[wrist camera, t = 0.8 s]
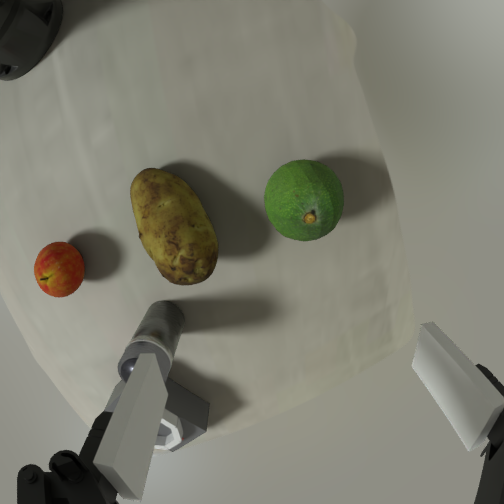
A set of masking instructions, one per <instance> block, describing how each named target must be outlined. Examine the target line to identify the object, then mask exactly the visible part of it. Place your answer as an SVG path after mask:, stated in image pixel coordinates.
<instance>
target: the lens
mask: <svg viewBox="0 0 504 504" xmlns="http://www.w3.org/2000/svg"><path fill="white" fill-rule="evenodd" d="M184 323H185V318H184V314H183V312H182V311H181V309H180V308H179V307H178V306H177V305H175V304H173V303H171V302H168V301H158V302H155V303H153V304H152V305H151V306H150V307H149V309H148V311H147V313H146V314H145V316H144V318H143V320H142V321H141V323H140V325H139V327H138V328H137V330H136V332H135V334H134V336H133V337H132V339H131V341H130V342H129V344H128V346H127V347H126V349H125V352H124V354H123V356H122V358H121V359H120V361H119V363H118V372H119V375H120V377H121V379H122V380H123V381H124V382H125V383H127V381H128V379H129V377H130V374H131V372H132V370H133V368H134V366H135V364H136V361H137V359H138V357H139V355H140V353H155V355H156V359H157V362H158V365H159V368H160V372H161V375H162V378H163V381H164V384H166V380H167V377H168V374H169V371H170V369H171V366H172V362H173V358H174V354H175V351H176V348H177V345H178V342H179V339H180V336H181V332H182V329H183V326H184Z"/></svg>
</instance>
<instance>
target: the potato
mask: <svg viewBox="0 0 504 504" xmlns="http://www.w3.org/2000/svg"><path fill="white" fill-rule="evenodd" d="M130 195H131V202H132V207H133V212H134V215H135V219H136V223H137V227H138V231H139V238H140V239H141V242H142V244H143V246H144V248H145V250H146V251H147V253H148V254H149V256H150V257H151V258H152V259H153V260H154V261H155V264H156V266H157V268H158V270H159V271H160V273H161V274H162V276H163V277H165V278H166V279H167V280H169V282H171V283H174V284H178V285H193V284H197V283H200V282H203V281H205V280H206V279H207V278H209V277H210V275H211V274H212V273H213V271H214V269H215V266H216V263H217V258H218V241H217V238H216V234H215V231H214V229H213V226H212V224H211V222H210V219H209V217H208V216H207V214H206V212H205V211H204V209H203V207H202V204H201V202H200V200H199V198H198V197H197V195H196V194H195V193H194V191H193V190H192V189H191V188H190V186H189V185H188V184H187V183H186V182H184V181H183V180H182V179H181V178H179V177H178V176H176V175H174V174H171V173H168V172H166V171H163V170H160V169H156V168H147V169H144V170H142V171H141V172H140V173H139V174H138V175H137V176H136V177H135V178H134V180H133V182H132V184H131V189H130Z"/></svg>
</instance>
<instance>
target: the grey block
mask: <svg viewBox="0 0 504 504" xmlns="http://www.w3.org/2000/svg"><path fill="white" fill-rule="evenodd" d="M125 385H126V383H125V382H124V381H123V380H121V381H120V382H119V383H118V384H117V385H116V386H115V388H114V390H113V393H112V395H111V397H110V399H109V401H108V403H107V405H106V407H105V410H104V411H107V412H114V410H115V408H116V406H117V403H118V401H119V399H120V396H121V394H122V392H123V390H124V388H125ZM165 387H166V390H167V393H168V397H167V401H166V405H165V408H164V412H163V416H162V419H161V423H160V427H159V431H158V434H157V438H156V442H155V446H154V448H155V449H165V450H167V449H168V450H170V451H172V452H174V451H175V450H177V449H179V448H180V447H182V446H184V445H185V444H187V443H189V442H190V441H192V440H194V439H195V438H197V437H198V436H200V435H202V434H203V433H205V432H206V431H207V422H208V413H209V403H207V402H205V401H204V400H202V399H200V398H199V397H197V396H196V395H194V394H193V393H191V392H189V391H188V390H186V389H185V388H183V387H182V386H180V385H179V384H177V383H176V382H174V381H173V380H171V379H170V378H168V377H167V380H166V384H165Z"/></svg>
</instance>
